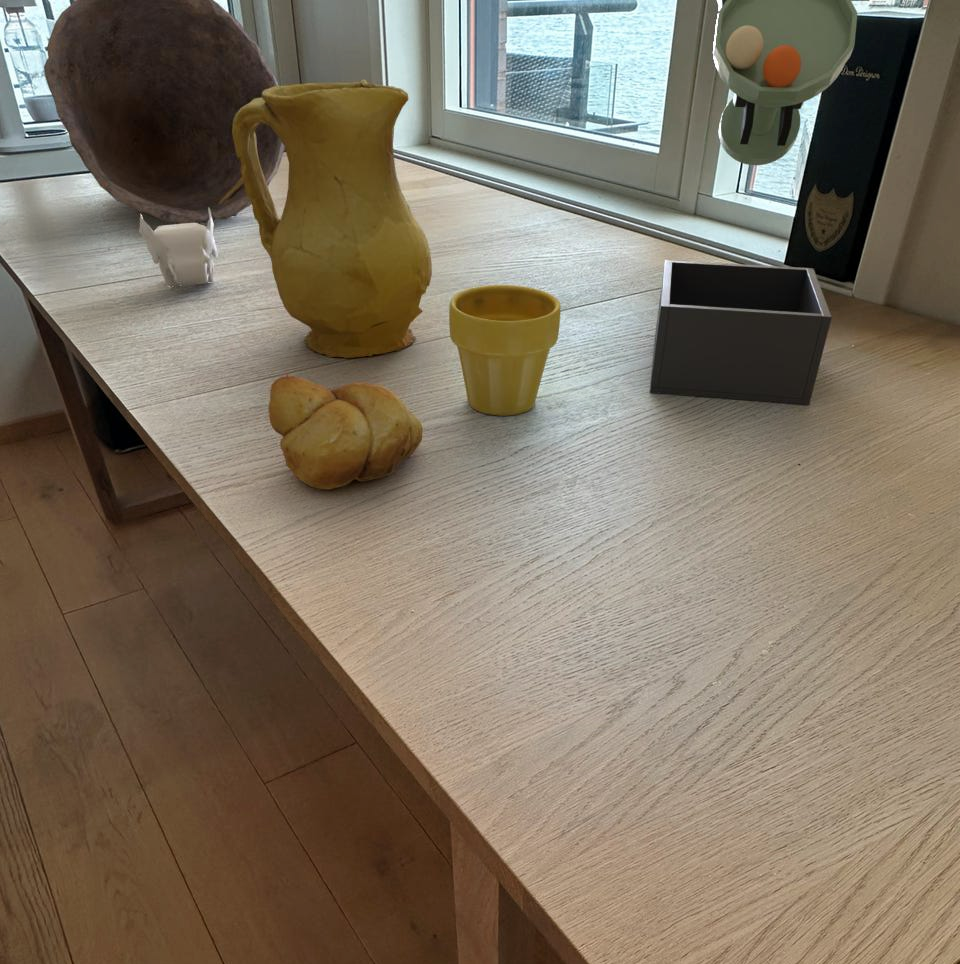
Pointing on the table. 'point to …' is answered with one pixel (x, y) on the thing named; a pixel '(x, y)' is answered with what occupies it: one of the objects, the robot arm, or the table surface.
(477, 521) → the table surface
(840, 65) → the pedestal stand
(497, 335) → the flower pot
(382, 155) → the pitcher
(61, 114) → the bowl
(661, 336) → the bin
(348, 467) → the bread roll
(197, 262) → the white open carton
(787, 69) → the ball
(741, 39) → the ball
